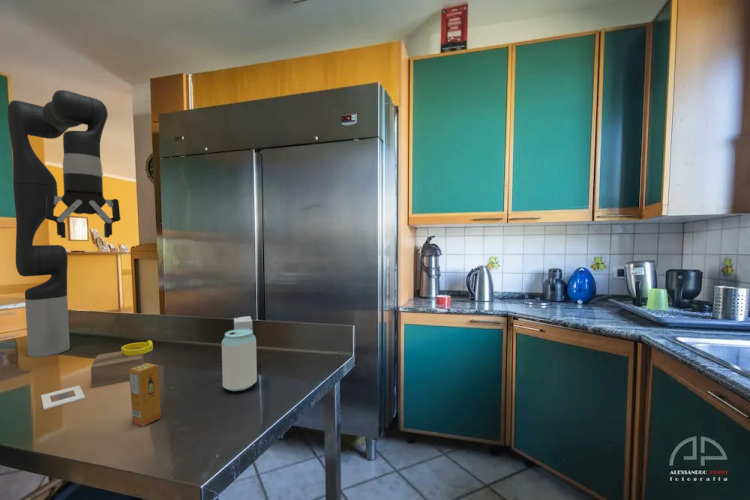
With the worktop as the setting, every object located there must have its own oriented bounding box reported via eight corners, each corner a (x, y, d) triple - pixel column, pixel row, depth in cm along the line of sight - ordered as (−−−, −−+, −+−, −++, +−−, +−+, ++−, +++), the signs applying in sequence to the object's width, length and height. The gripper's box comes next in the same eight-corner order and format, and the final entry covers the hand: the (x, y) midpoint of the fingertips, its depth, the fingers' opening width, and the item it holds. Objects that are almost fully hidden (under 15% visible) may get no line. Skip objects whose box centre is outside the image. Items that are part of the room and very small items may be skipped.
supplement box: (150, 414, 61) (148, 361, 61) (161, 418, 60) (159, 364, 60) (130, 423, 58) (128, 367, 58) (141, 428, 57) (139, 371, 57)
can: (223, 395, 69) (222, 338, 68) (222, 382, 75) (220, 330, 74) (258, 388, 72) (257, 334, 71) (254, 376, 78) (253, 326, 77)
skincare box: (255, 368, 83) (254, 320, 82) (235, 371, 81) (234, 322, 80) (252, 359, 88) (251, 315, 88) (234, 362, 86) (233, 317, 86)
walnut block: (98, 375, 79) (97, 354, 79) (143, 366, 84) (143, 347, 84) (91, 389, 72) (90, 367, 72) (142, 379, 77) (141, 358, 77)
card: (40, 396, 68) (40, 394, 68) (79, 386, 73) (79, 384, 73) (43, 410, 63) (43, 408, 63) (85, 398, 67) (85, 396, 67)
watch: (117, 343, 81) (145, 337, 86) (117, 354, 81) (145, 348, 86) (128, 348, 77) (156, 342, 82) (128, 360, 77) (155, 353, 82)
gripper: (114, 179, 92) (117, 237, 93) (42, 172, 81) (45, 237, 82) (121, 176, 87) (123, 237, 88) (45, 168, 76) (48, 238, 77)
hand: (85, 237), depth 85 cm, fingers open, 8 cm apart
